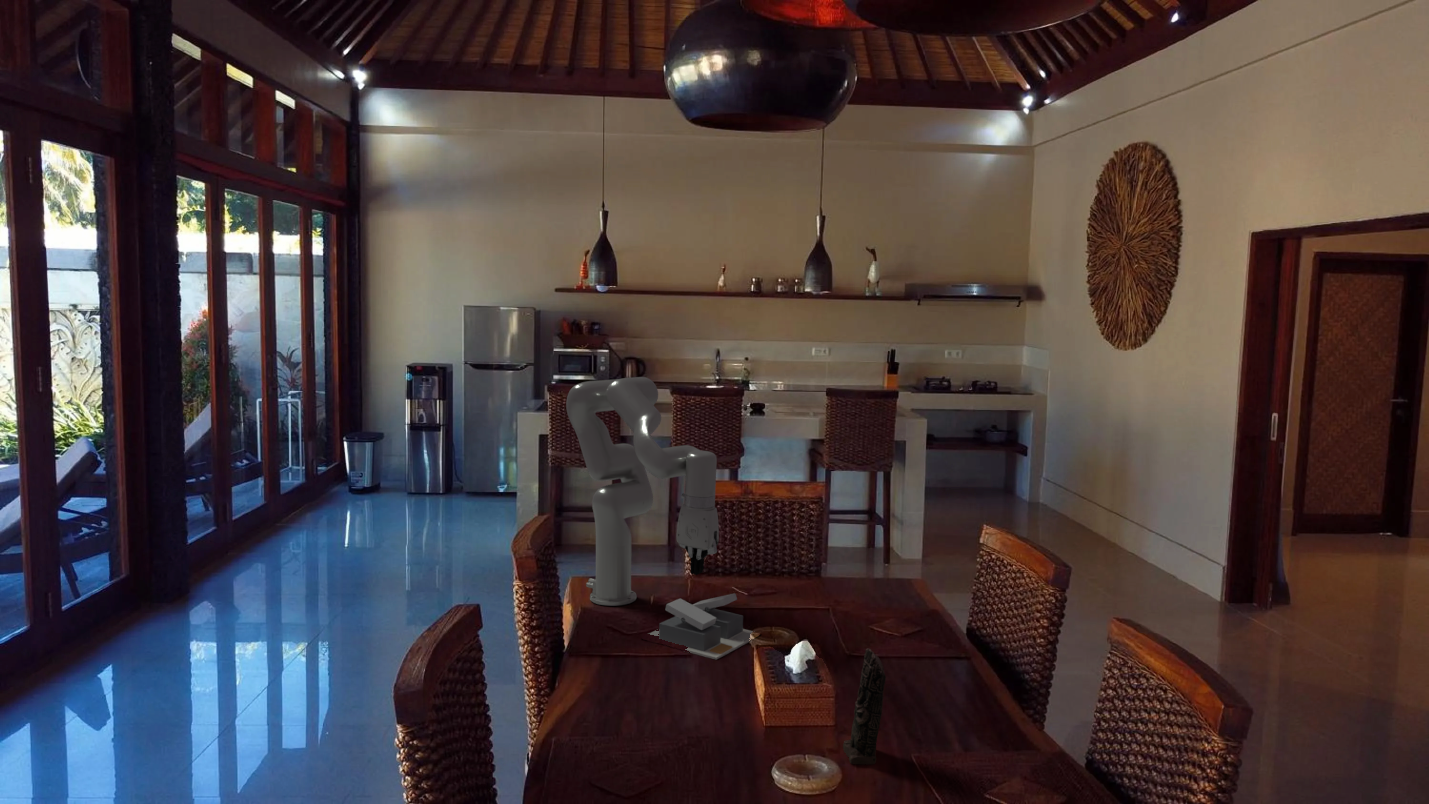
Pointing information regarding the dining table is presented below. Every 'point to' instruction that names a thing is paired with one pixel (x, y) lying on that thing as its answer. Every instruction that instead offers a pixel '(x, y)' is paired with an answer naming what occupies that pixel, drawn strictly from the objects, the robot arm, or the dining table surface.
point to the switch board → (707, 634)
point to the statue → (867, 712)
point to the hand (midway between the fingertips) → (696, 572)
